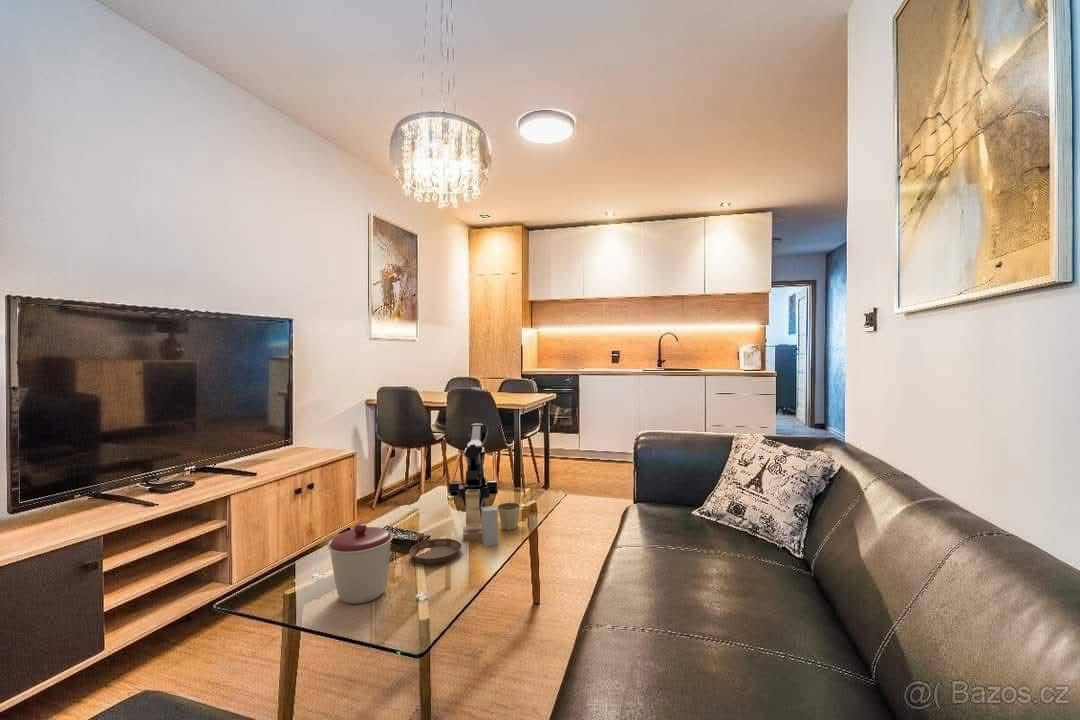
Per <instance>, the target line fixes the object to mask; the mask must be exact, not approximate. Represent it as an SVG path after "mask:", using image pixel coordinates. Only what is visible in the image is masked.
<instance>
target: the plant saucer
mask: <svg viewBox="0 0 1080 720" xmlns="http://www.w3.org/2000/svg"><path fill="white" fill-rule="evenodd" d="M425 548H431V549H430V551H427V552H425V553H422V554H420V555H419V556H416V554H417V553H418V552H419V551H420V550H423V549H425ZM461 548H462V543H461V542H460V541H459V540H456V539H452V538H435V539H434V538H433V539H428V540H423V541H421V542H418V543H416V544H415V545H413V546H412V547H411V548H410V549H409V554H410V556H411V557H412V558H413V559H414V560H415V561H416V562H419V563H421V564H426V565H436V564H441V563H446V562H448V561H451V560H452V559H454V558H455V557H456V556H457V555H458V553H460V551H461Z"/></svg>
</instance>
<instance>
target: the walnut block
mask: <svg viewBox="0 0 1080 720" xmlns="http://www.w3.org/2000/svg"><path fill="white" fill-rule="evenodd" d="M462 529H463V531H462V542H475V541H482V525H480V527H466V526H464V527H463V528H462Z"/></svg>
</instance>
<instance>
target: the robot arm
mask: <svg viewBox="0 0 1080 720" xmlns="http://www.w3.org/2000/svg"><path fill="white" fill-rule="evenodd" d="M488 431H489V430H488V426H487V425H484V424H482V423H472V424H471V425H470V426H468V436H469V437H470V441H469V442H468V443H467V444H466V447H465V449H464V453H463V455H464V457H465V460H466V464H467V465H466V467H467V468H466V471H465V485H464V484H460V482H450V483H449V484H448V492H449V496H451V497H458V498H461V500H462V504H463V506H464V510H466V491H467V489H480V503H479V509H480V514H481V507H487V506H486V504H487V503H486V499H488V498H490V497H491V496H490V495H497V494H498V492H499V491H498V490H499V489H498V488H499V487H498V482H497V480H492V481H491V480H489V481H487V480H486V477H485V473H484V472H485V469H484V456H485V455H486V449H485V447H484V444H485V443H486V441H487V436H488Z"/></svg>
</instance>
